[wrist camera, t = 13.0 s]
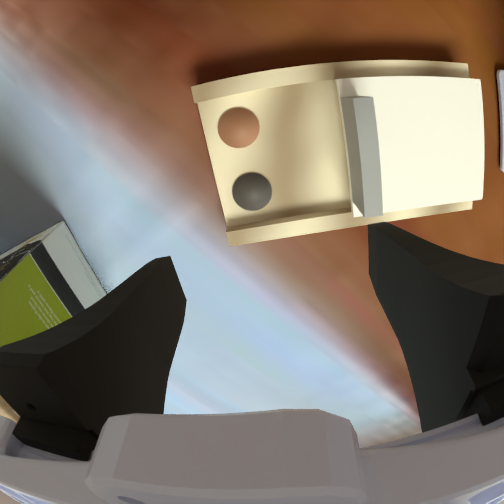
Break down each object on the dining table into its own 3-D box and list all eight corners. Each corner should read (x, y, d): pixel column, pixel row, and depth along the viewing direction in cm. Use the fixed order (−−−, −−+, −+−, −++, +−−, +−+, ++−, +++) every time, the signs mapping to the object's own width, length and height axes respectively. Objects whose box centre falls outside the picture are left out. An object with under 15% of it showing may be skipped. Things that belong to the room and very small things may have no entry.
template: (453, 64, 15) (467, 63, 14) (459, 200, 20) (471, 208, 18) (197, 87, 17) (190, 86, 16) (232, 234, 22) (229, 246, 20)
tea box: (30, 337, 29) (-30, 436, 16) (-19, 264, 24) (-102, 354, 11) (126, 316, 26) (60, 465, 13) (67, 214, 21) (-63, 342, 8)
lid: (475, 79, 14) (504, 81, 11) (478, 196, 17) (503, 213, 15) (334, 79, 15) (349, 77, 12) (351, 214, 19) (365, 235, 16)
